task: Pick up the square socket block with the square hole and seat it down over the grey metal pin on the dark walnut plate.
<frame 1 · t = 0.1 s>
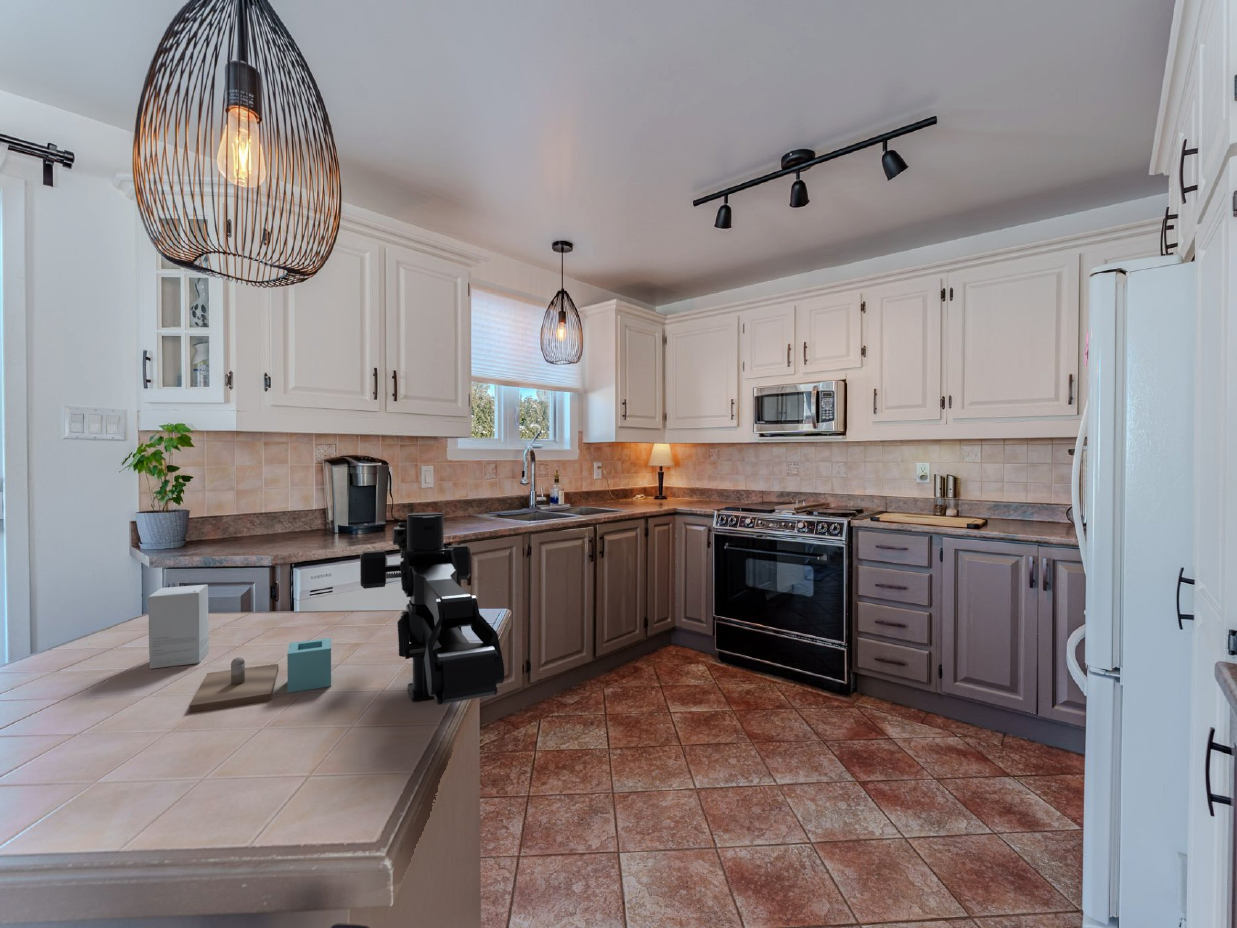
hand: (411, 558, 113), 17 cm above the counter, tool horizontal, fingers open, 9 cm apart
square socket block: (310, 682, 94), on the counter
pin plate: (237, 688, 91), on the counter
supplement box: (180, 661, 104), on the counter
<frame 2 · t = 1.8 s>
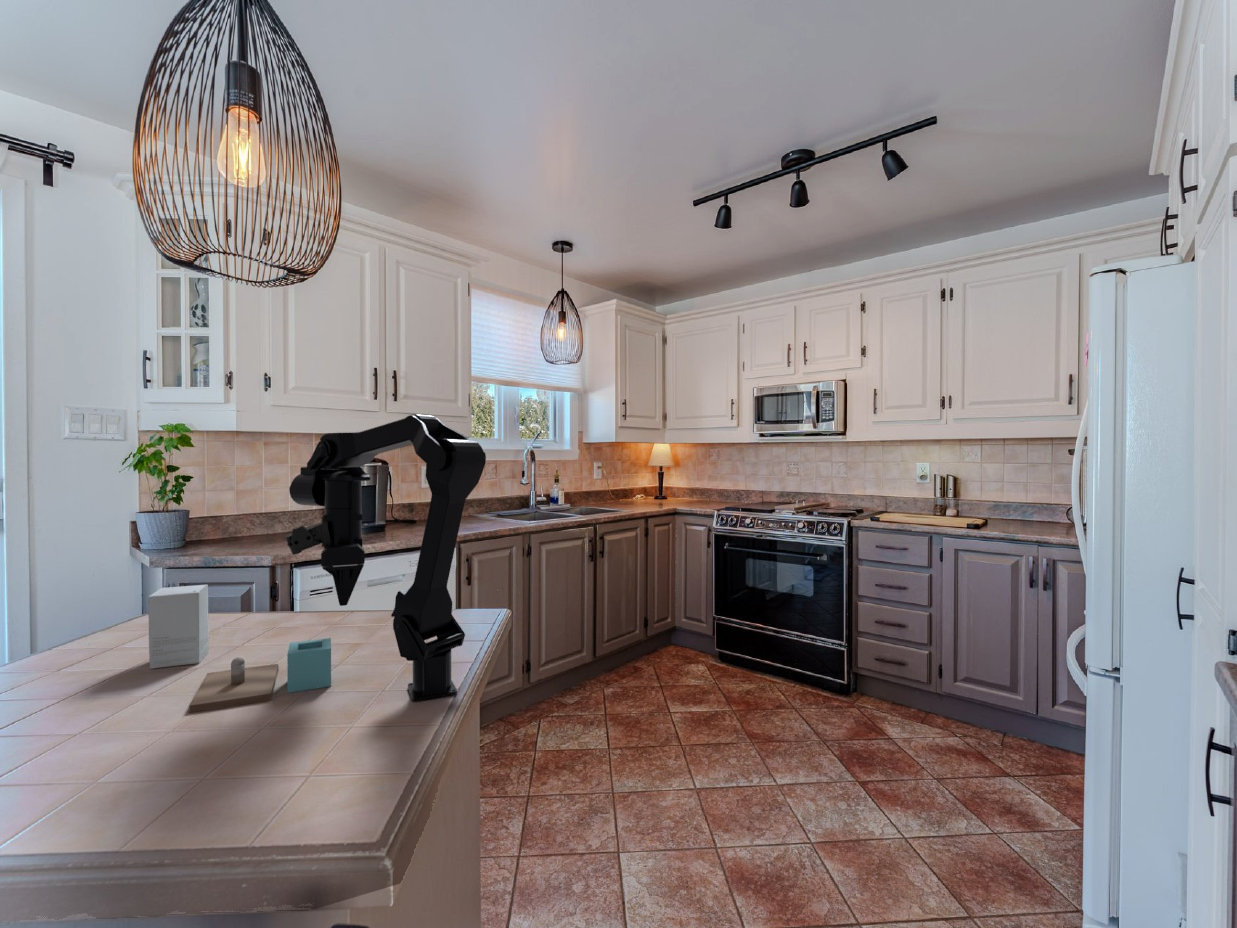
hand: (343, 599, 100), 12 cm above the counter, tool pointing down, fingers open, 9 cm apart
nothing on the counter moved.
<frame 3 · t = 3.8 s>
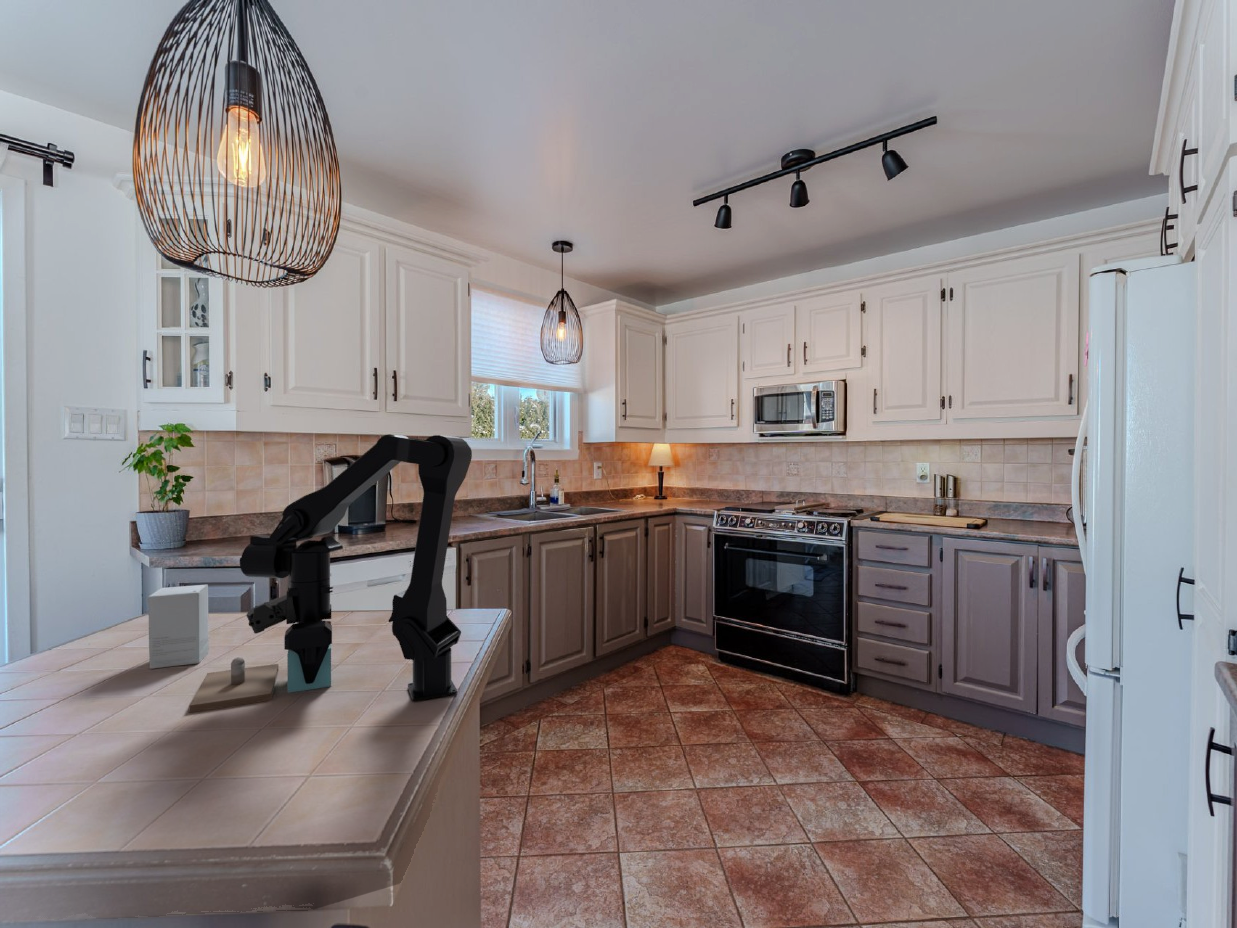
hand: (310, 676, 94), 1 cm above the counter, tool pointing down, fingers closed on square socket block, 6 cm apart
square socket block: (310, 682, 94), on the counter, touching gripper
everything else where it was.
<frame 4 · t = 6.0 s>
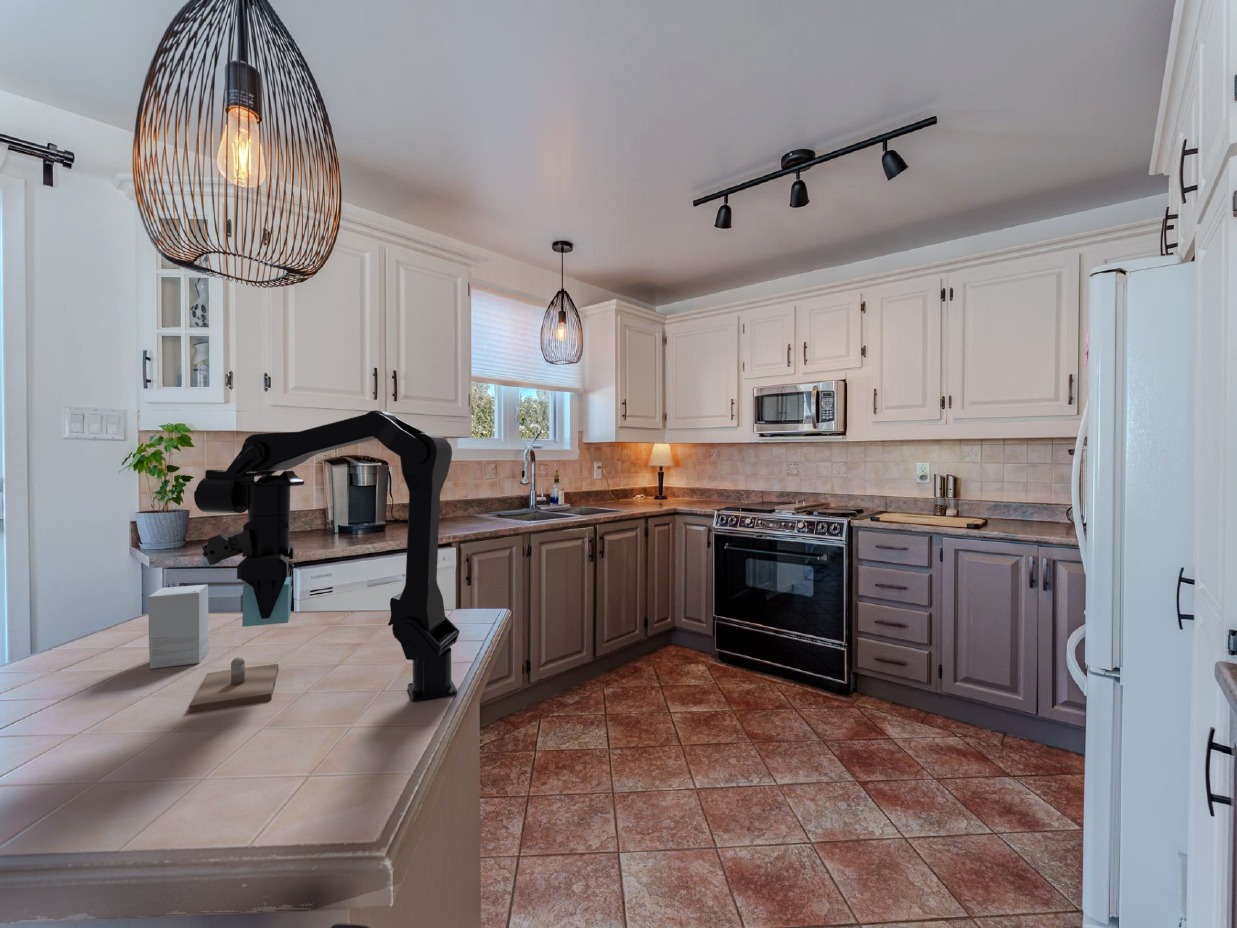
hand: (267, 613, 93), 12 cm above the counter, tool pointing down, fingers closed on square socket block, 6 cm apart
square socket block: (267, 619, 93), point 10 cm above the counter, touching gripper
everything else where it was.
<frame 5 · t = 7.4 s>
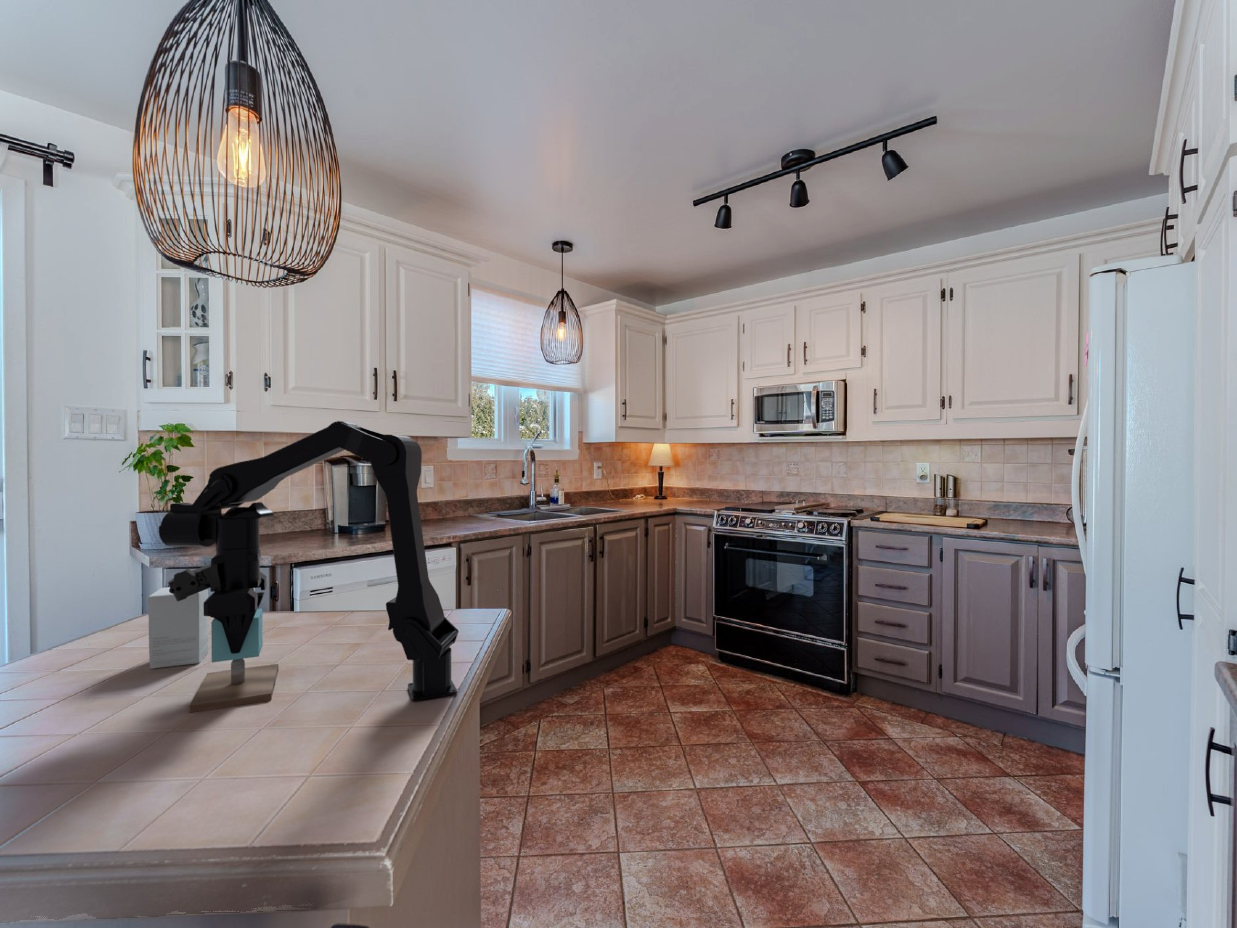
hand: (238, 647, 91), 7 cm above the counter, tool pointing down, fingers closed on square socket block, 6 cm apart
square socket block: (238, 653, 91), point 6 cm above the counter, touching gripper
everything else where it was.
when the fingers open (4 cm above the counter, at t = 8.5 s): square socket block drops 2 cm, resting on pin plate.
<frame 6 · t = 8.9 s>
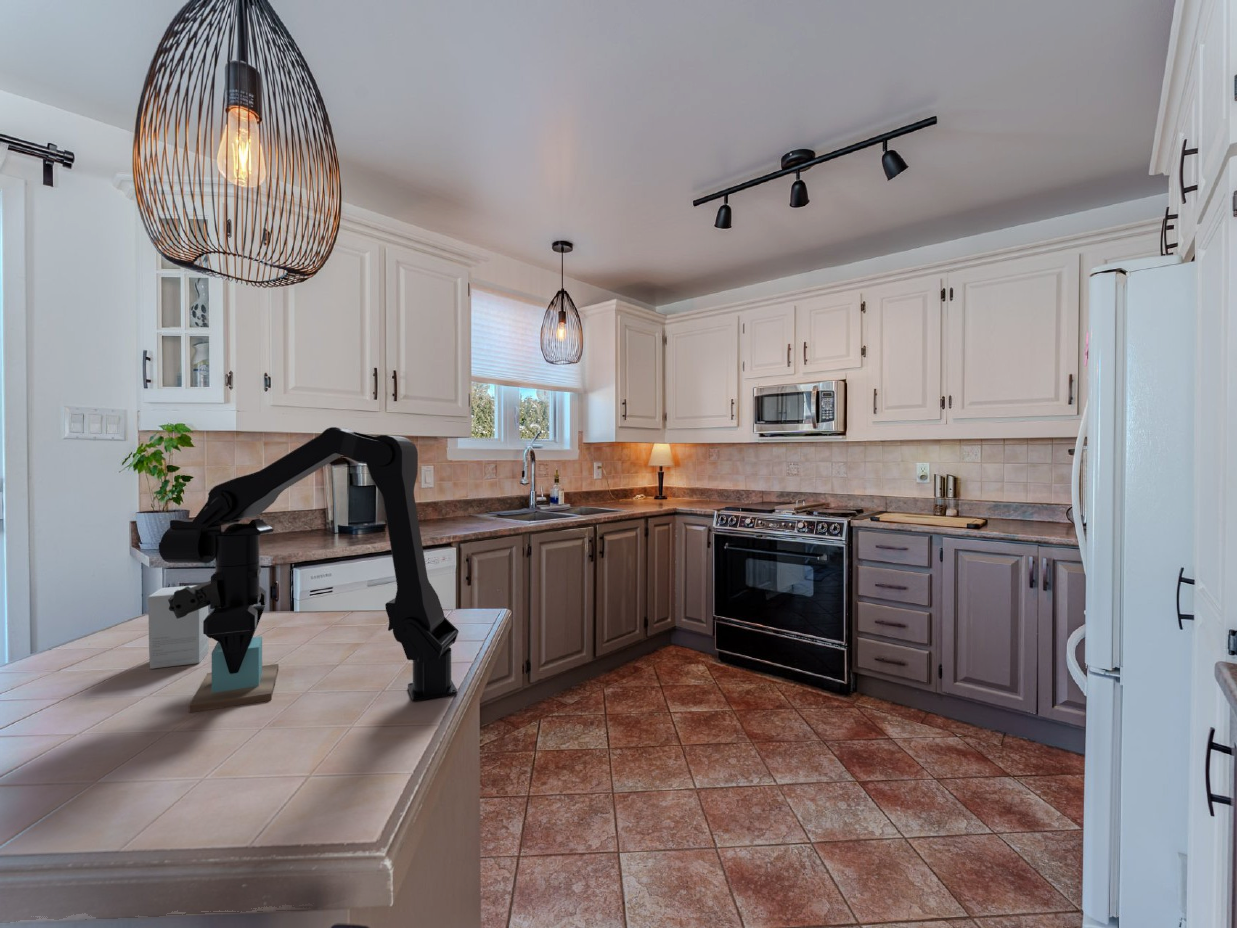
hand: (238, 663, 91), 4 cm above the counter, tool pointing down, fingers open, 9 cm apart
square socket block: (238, 682, 91), point 1 cm above the counter, touching pin plate
everything else where it was.
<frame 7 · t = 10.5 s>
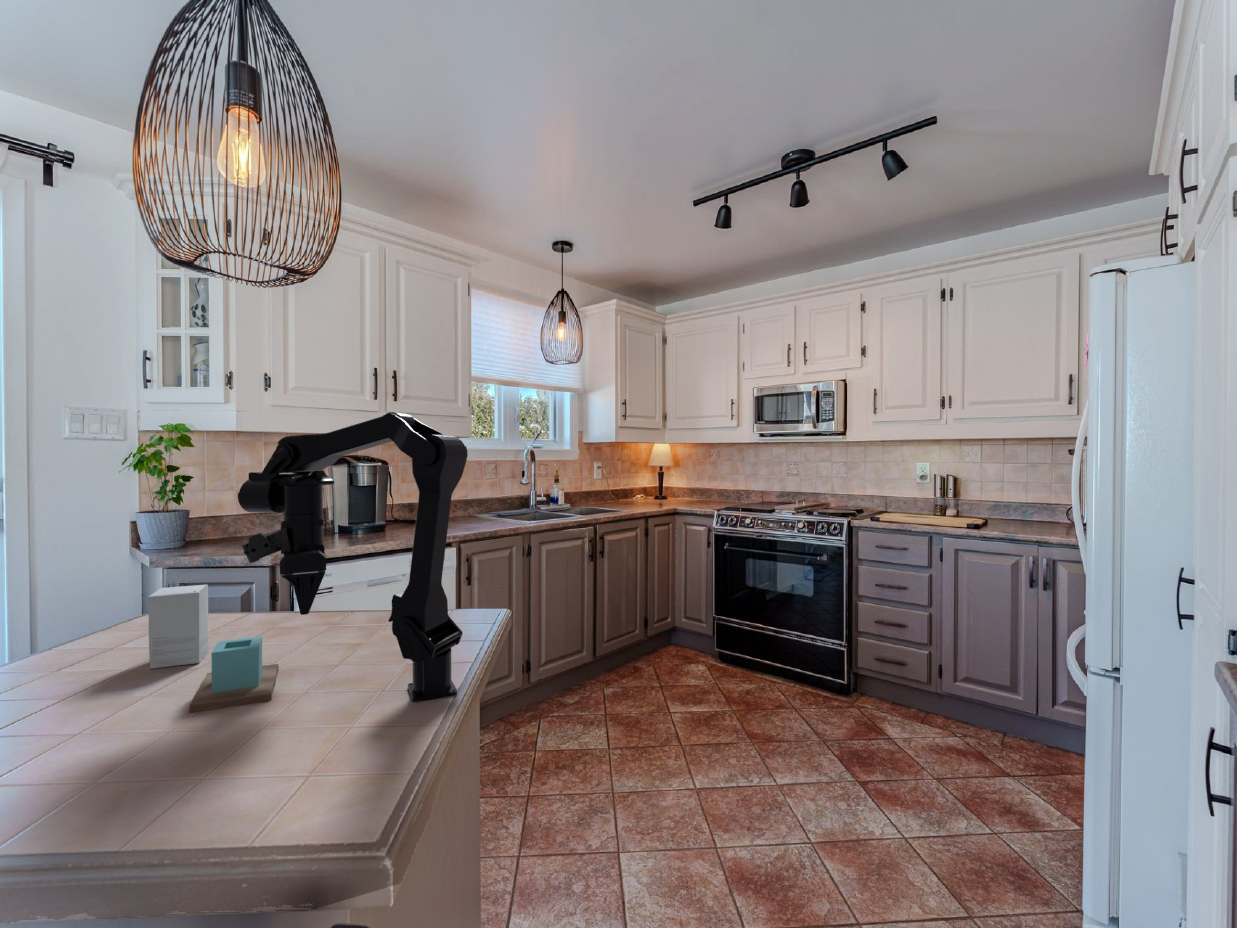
hand: (304, 608, 96), 11 cm above the counter, tool pointing down, fingers open, 9 cm apart
nothing on the counter moved.
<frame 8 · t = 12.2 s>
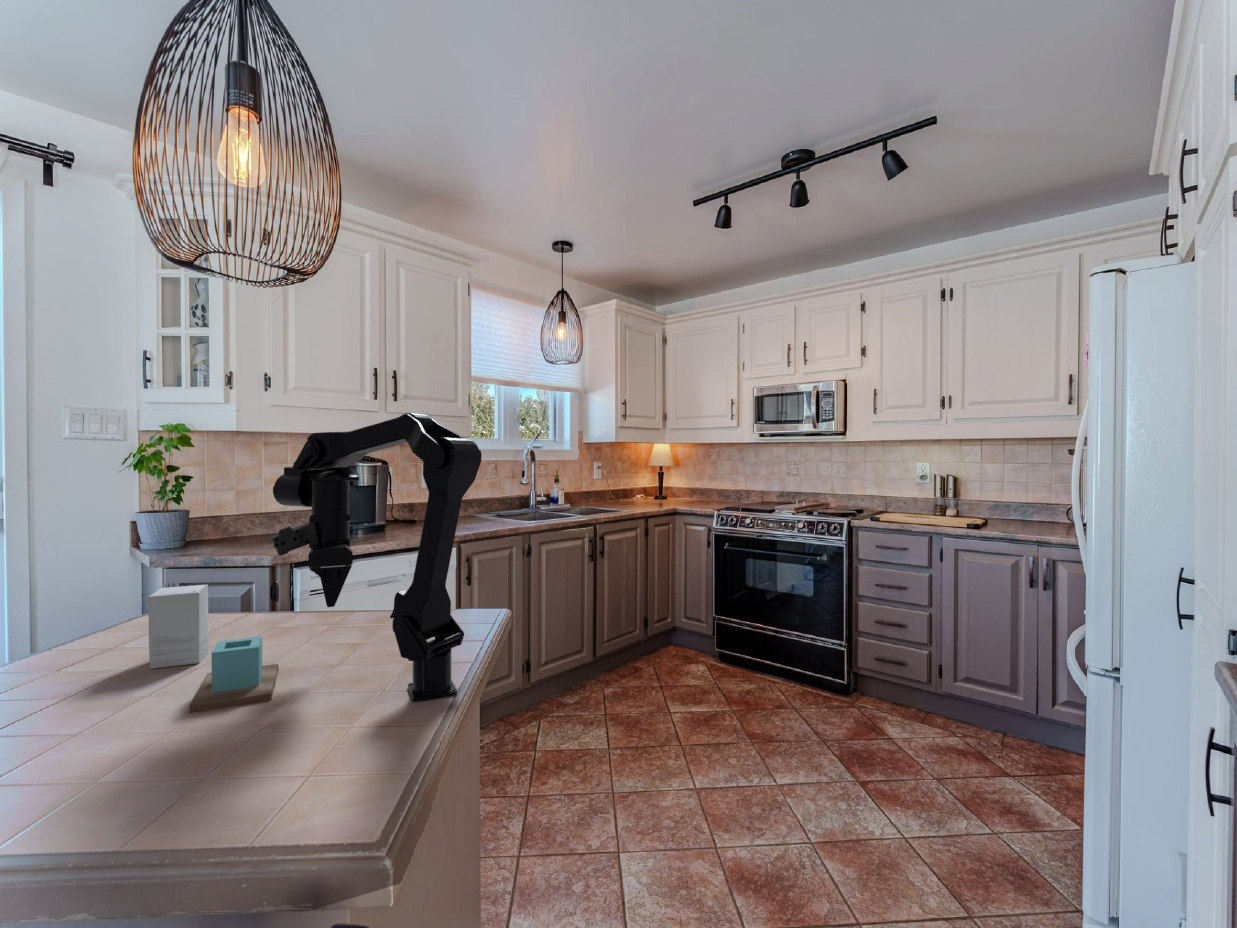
hand: (330, 600, 99), 12 cm above the counter, tool pointing down, fingers open, 9 cm apart
nothing on the counter moved.
at the end: square socket block 0.0 cm off-centre on the pin plate, point 1.0 cm above the pin plate's base; square socket block tilted 0°; the gripper is holding nothing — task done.
